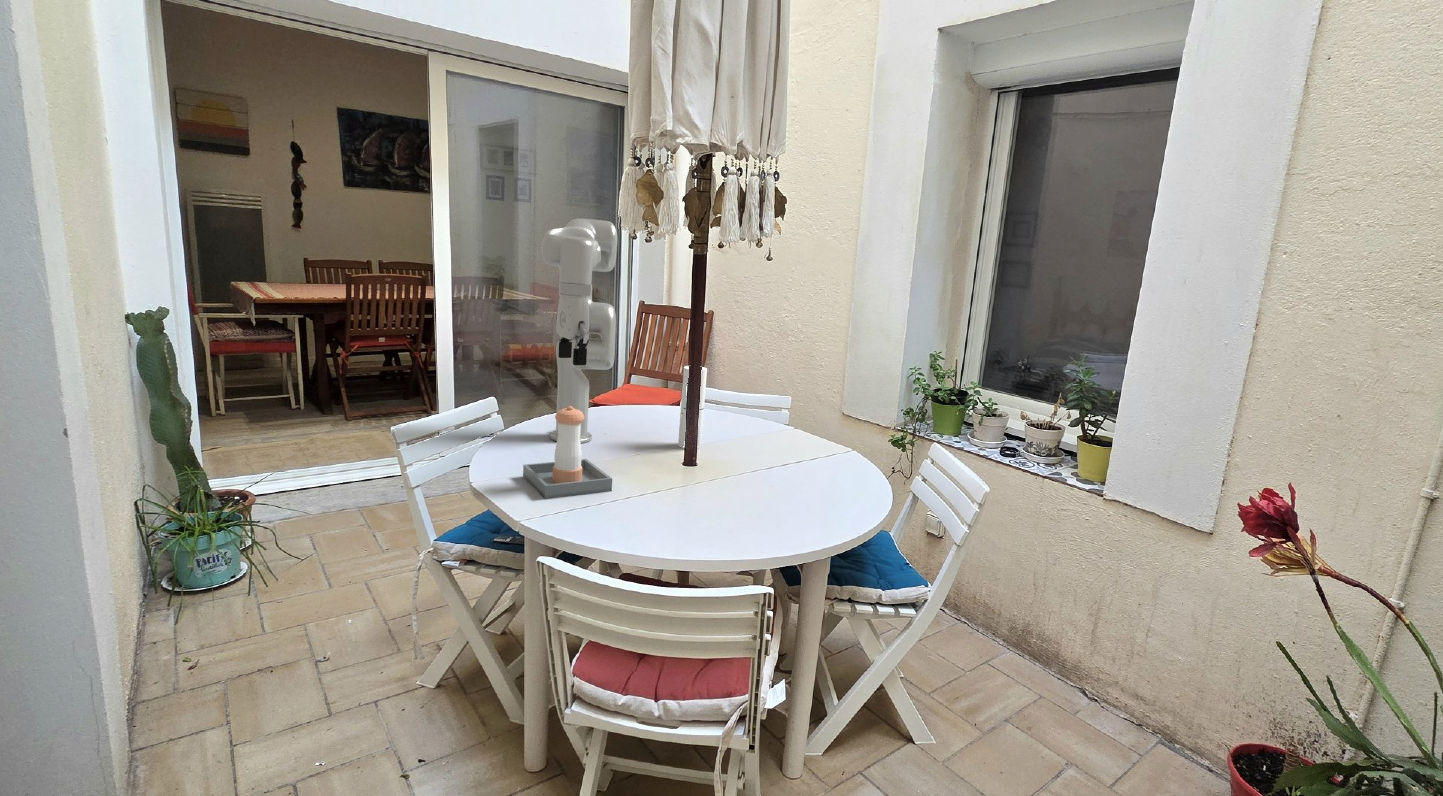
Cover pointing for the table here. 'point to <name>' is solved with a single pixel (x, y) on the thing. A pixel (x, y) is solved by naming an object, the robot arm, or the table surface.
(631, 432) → the table surface
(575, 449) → the pepper shaker
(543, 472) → the tray
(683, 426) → the cylindrical container
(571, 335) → the robot arm
